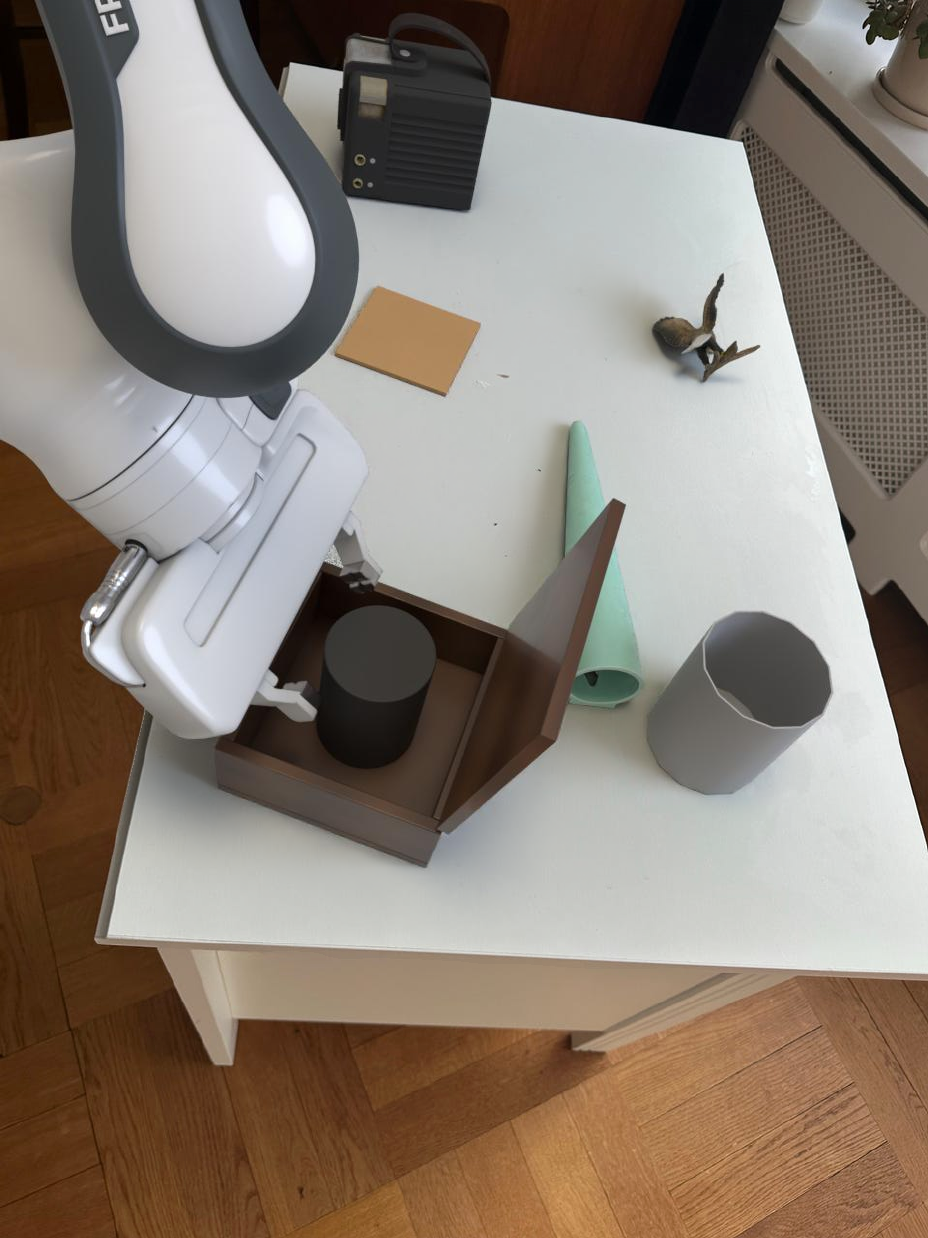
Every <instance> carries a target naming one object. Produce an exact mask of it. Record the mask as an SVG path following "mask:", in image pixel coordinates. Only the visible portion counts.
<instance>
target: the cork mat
mask: <svg viewBox="0 0 928 1238" xmlns="http://www.w3.org/2000/svg"><path fill="white" fill-rule="evenodd" d="M481 326H482V323H481V322H479V321H475V320H473V319H470V318H468V317H464V316H462V315H459V314H457V313H453V312H451V311H448V310H446V309H443V308H440V307H438V306H436V305H431V304H429V303H426V302H423V301H421V300H418V299H415V298H412V297H410V296H407V295H404V294H402V293H399V292H396V291H394V290H391V289H388V288H385V287H383V286H380V285H376V287H375V289H374V290H373V292H372V294H371V295H370V296H369V299H368V300H367V301H366V302H365V305H364V306H363V308H362V310H361V311H360V313H359V314H358V316H357V317H356V319H355V321H354V322H353V324H352V326H351V327H350V329H349V330H348V331H347V333H346V335H345V336H344V338H343V339H342V340H341V343H340V344H339V346H338V348H337V349H336V351H335V354H334V356H335V357H337V358H340V359H343V360H346V361H349V362H351V363H354V364H355V365H359V366H361V367H365V368H367V369H370V370H373V371H375V372H378V373H381V374H384V375H386V376H389V377H391V378H394V379H397V380H400V381H402V382H405V383H408V384H411V385H413V386H417V387H419V388H422V389H424V390H427V391H429V392H432V393H435V394H437V395H440V396H443V397H446V396H447V394H448V393H449V390H450V388H451V386H452V384H453V383H454V380H455V378H456V377H457V374H458V372H459V370H460V369H461V366H462V364H463V362H464V360H465V358H466V356H467V354H468V352H469V350H470V348H471V346H472V345H473V342H474V340H475V338H476V336H477V334H478V332H479V330H480V329H481Z"/></svg>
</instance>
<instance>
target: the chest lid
mask: <svg viewBox="0 0 928 1238" xmlns="http://www.w3.org/2000/svg"><path fill="white" fill-rule="evenodd" d="M626 507H627V504H626V503H624V502H622V501H620V500H618V499H616V498H614V497H613V498H612V499H611V500H610V501H609V502H608V503H607V505H605V508H604V510H603V511H602V512H601V513H600V515H599V516H598V517H597V518H596V519H595V521H594V522H593V523H592V524H591V526H590V527H589V528H588V529H587V531H586V532H585V533H584V534H583V535H582V537H581V538H580V539H579V540H578V542H577V543H576V544H575V545H574V547H573V548H572V549H571V550H570V551H569V553H568V554H567V555H566V556H565V555H564V557H563V559H562V560H561V561H560V562H559V563H558V565H557V566H556V567H555V569H553V571H552V572H551V573H550V574H549V576H548V577H547V579H546V580H545V581H544V582H543V584H542V585H541V586H540V587H539V589H538V590H537V591H536V592H535V593H534V594H533V595H532V597H531V598H530V599H529V601H528V602H527V603H526V604H525V605H524V607H523V608H522V609H521V610H520V611H519V613H518V614H517V615H516V616H515V618H514V619H513V620H512V621H511V623H510V624H509V625H508V628H507V630H508V631H507V633H506V636H505V639H504V642H503V645H502V647H501V650H500V653H499V656H498V659H497V661H496V664H495V667H494V670H493V673H492V675H491V678H490V681H489V684H488V686H487V689H486V692H485V695H484V698H483V700H482V703H481V706H480V709H479V712H478V714H477V717H476V720H475V723H474V726H473V728H472V731H471V734H470V737H469V739H468V742H467V745H466V748H465V751H464V753H463V756H462V759H461V762H460V765H459V767H458V770H457V773H456V776H455V779H454V781H453V784H452V787H451V790H450V792H449V795H448V798H447V801H446V804H445V806H444V809H443V812H442V815H441V818H440V820H439V823H438V826H437V830H440V831H442V833H444V834H446V835H450V834H452V833H453V832H454V831H455V830H457V828H459V827H460V826H461V825H462V824H463V823H465V822H466V821H467V820H468V819H469V818H470V817H471V816H472V815H474V814H475V813H476V812H477V811H478V810H479V809H481V808H482V807H483V806H484V805H486V803H487V802H489V801H490V800H491V799H492V798H493V797H495V795H497V794H498V793H499V792H500V791H501V790H502V789H503V788H505V787H506V786H507V785H508V784H509V783H511V782H512V781H513V780H514V779H515V778H516V777H518V776H519V775H520V774H521V773H522V772H523V771H524V770H526V769H527V768H528V767H529V766H530V765H531V764H533V763H534V762H536V760H537V759H538V758H539V757H540V756H542V755H543V754H544V753H545V752H546V751H547V750H549V749H550V748H551V747H552V746H553V745H554V744H555V743H557V741H558V738H559V734H560V731H561V727H562V724H563V721H564V718H565V714H566V711H567V707H568V703H569V697H570V694H571V690H572V687H573V684H574V680H575V677H576V673H577V670H578V667H579V663H580V660H581V657H582V653H583V650H584V646H585V643H586V640H587V636H588V633H589V629H590V626H591V623H592V619H593V616H594V612H595V609H596V606H597V602H598V599H599V595H600V592H601V589H602V585H603V582H604V579H605V575H606V572H607V568H608V565H609V562H610V558H611V555H612V551H613V548H614V545H615V544H616V541H617V538H618V534H619V531H620V527H621V524H622V521H623V518H624V514H625V511H626ZM615 546H616V545H615Z"/></svg>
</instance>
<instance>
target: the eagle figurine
mask: <svg viewBox="0 0 928 1238" xmlns="http://www.w3.org/2000/svg"><path fill="white" fill-rule="evenodd" d="M724 284H725V273H724V272H722V273H721V274H720V275H719V276H718V279H717V280H716V285H714V286H713V287H712V289H711V291H710V292H709V293H708V295H707V296H706V299H705V302H704V305H703V309H702V310H703V311H702V321H701V322H702V323H701V326H700V327H698V328H696V327H694V326H693V325H692V323H690V322H689V320H687V319H685V318H682V317H676V316H670V317H669V316H665V317H660V319H659V320H657V321H656V322H655V323H653V330H654V331H656V332H657V333H658V334H660V335H661V336H662V337H663V338H664V341H665V343H666V344H668V345H670V346H672V348H673V347H674V348H675V347H676V348H677V347H680V346H682V347H683V346H685V345H686V346H688V347H687V348H686V349H684V350H683V351H682V352H681V355H684V354H687V353H690V352H692V350H695V352H696V355H697V357H698V359H699V360H700V362H701V363H702V365H703V366H704V371H703V375H702V383H705V382H707V381H708V379H709V378H710V376H712V375H713V374H714V373H715V372H717V371H719V370H720V369H721V368H723V367H724V366H726V365H727V364H729V363H731V362H733V361H736V360H739V359H741V358H743V357H746V356H747V355H750V354H753V353H755V352H756V351H757V350H758V349H760V348H761V345H760V344H757V345H755V346H751V347H748V348H745V349H742V350H740V351H739V346H738V341H737V340H734V341H733V342H732V343H731V344H730V345H729V346H727V348H726V349H725V350H724V349H723V348H722V347H721V346H720V345H719V343H718V342H717V336H716V334H715V332H714V328H715V327H716V322H717V316H718V307H717V305H716V303H717V299H718V297H719V293H720V292H721V289H722V287H723V286H724ZM708 352H710V354H712V355H713V356H712V360H711V362H710V357H709V356H708Z"/></svg>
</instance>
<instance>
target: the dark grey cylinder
mask: <svg viewBox="0 0 928 1238" xmlns="http://www.w3.org/2000/svg"><path fill="white" fill-rule="evenodd" d="M435 666H436V648H435V644H434V641H433V639H432V637H431V635H430V633H429V632H428V630H427V629H426V628H425V627H424V625H423V624H422V623H421V622H420V621H419V620H417V619H416V618H415V617H413V616H412V615H410V614H408V613H407V612H404V611H402V610H400V609H397V608H393V607H389V606H380V605H376V606H365V607H361V608H358V609H355V610H352V611H350V612H349V613H347V614H345V615H344V616H342V617H341V618H340V619H339V620H338V621H336V622H335V624H334V625H333V626H332V627H331V629H330V631H329V632H328V634H327V637H326V640H325V644H324V652H323V661H322V671H321V680H320V689H319V692H320V693H321V694H322V695H323V701H322V703H321V705H320V707H319V710H318V712H317V718H316V727H317V732H318V735H319V738H320V740H321V742H322V744H323V746H324V747H325V748H326V750H327V751H328V752H329V753H330V754H331V755H332V756H334V757H335V758H336V759H338V760H339V761H341V762H343V763H345V764H347V765H350V766H353V767H358V768H377V767H382V766H385V765H388V764H390V763H392V762H394V761H395V760H397V759H398V758H400V757H401V756H402V755H403V754H404V753H405V752H406V751H407V749H408V748H409V746H410V745H411V743H412V741H413V738H414V735H415V732H416V728H417V725H418V722H419V719H420V715H421V712H422V709H423V706H424V702H425V699H426V696H427V693H428V689H429V686H430V683H431V680H432V676H433V673H434V670H435Z"/></svg>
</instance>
